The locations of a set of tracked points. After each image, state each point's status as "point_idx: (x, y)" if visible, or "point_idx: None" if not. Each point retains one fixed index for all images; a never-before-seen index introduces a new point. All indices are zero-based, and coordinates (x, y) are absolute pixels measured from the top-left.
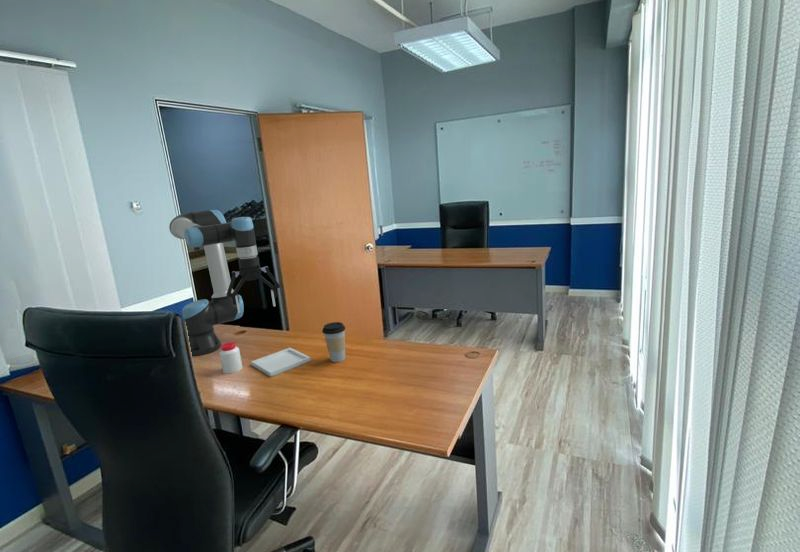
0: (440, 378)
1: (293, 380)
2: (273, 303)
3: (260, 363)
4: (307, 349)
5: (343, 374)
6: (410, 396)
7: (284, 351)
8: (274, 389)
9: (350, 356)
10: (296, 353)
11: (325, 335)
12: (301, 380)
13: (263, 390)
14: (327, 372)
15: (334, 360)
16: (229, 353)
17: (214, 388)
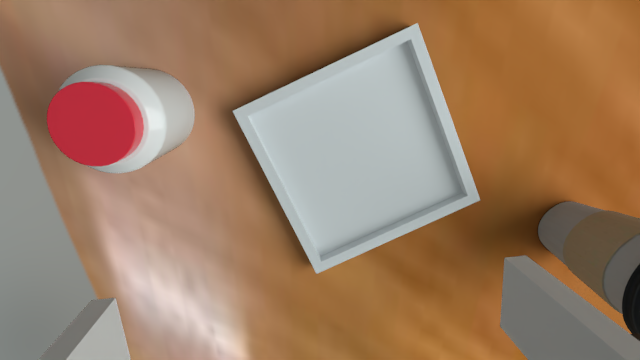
0: None
1: (387, 322)
2: (524, 350)
3: (273, 124)
4: (486, 47)
5: None
6: None
7: (386, 50)
8: (324, 357)
9: None
10: (434, 108)
11: (618, 299)
12: (411, 333)
13: (290, 349)
14: (499, 313)
15: (549, 250)
16: (121, 172)
17: (112, 265)
